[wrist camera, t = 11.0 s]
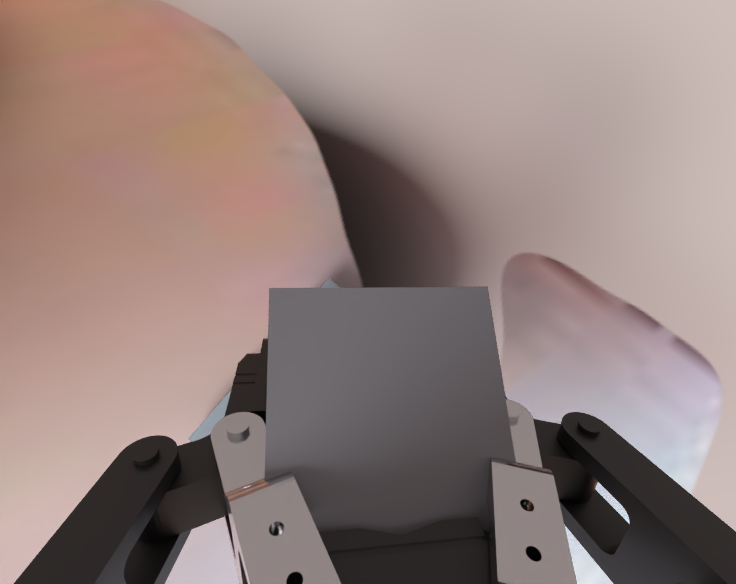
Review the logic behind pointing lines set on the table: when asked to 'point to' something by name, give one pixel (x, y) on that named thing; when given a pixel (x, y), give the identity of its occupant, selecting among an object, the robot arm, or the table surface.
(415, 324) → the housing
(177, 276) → the table surface
